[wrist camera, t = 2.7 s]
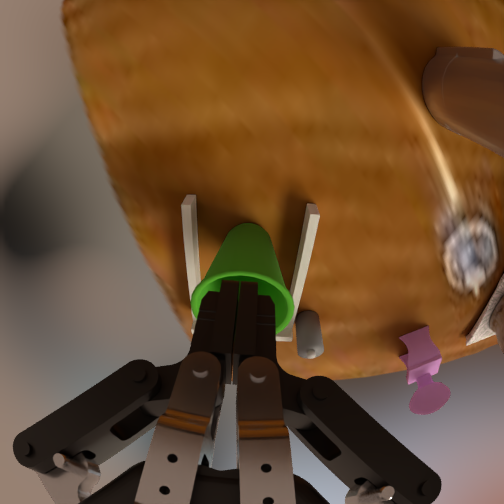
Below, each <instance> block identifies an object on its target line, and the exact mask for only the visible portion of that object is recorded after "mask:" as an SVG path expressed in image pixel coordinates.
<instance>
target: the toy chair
mask: <svg viewBox="0 0 504 504" xmlns="http://www.w3.org/2000/svg"><path fill="white" fill-rule="evenodd" d="M399 339H400V340H402V341H403V342H404V343H405V344H406V346H407V348H408V354H405V355H403V356H400V357H399V358H400V359H401V360H402V361H403V362H404V363H405V365H406V367H407V376H406V379H407V382H408V384H411V383H413V382H416V381H417V384H418V390H417V391H416V392H415V393H414V395H413V397H412V398H411V401H410V404H409V408H410V410H411V411H412V412H413V413H415V414H421V415H425V414H430V413H433V412H435V411H437V410H439V409H440V408H441V407H442V406H443V405H444V404H445V403H446V402H447V401H448V399H449V397H450V390H449V388H448V387H447V386H446V385H444V384H443V383H441V382H433V380H432V378H431V375H434V374H436V373H438V369H439V365H440V362H441V359H442V357H441V354H440V351H439V349H438V348H437V347H436V346H435V345H434V343H433V342H432V340H431V339H430V336H429V326H426V327H424V328H421V329H419V330H416V331H414V332H411V333H408V334H406V335H403V336H400V337H399Z"/></svg>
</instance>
